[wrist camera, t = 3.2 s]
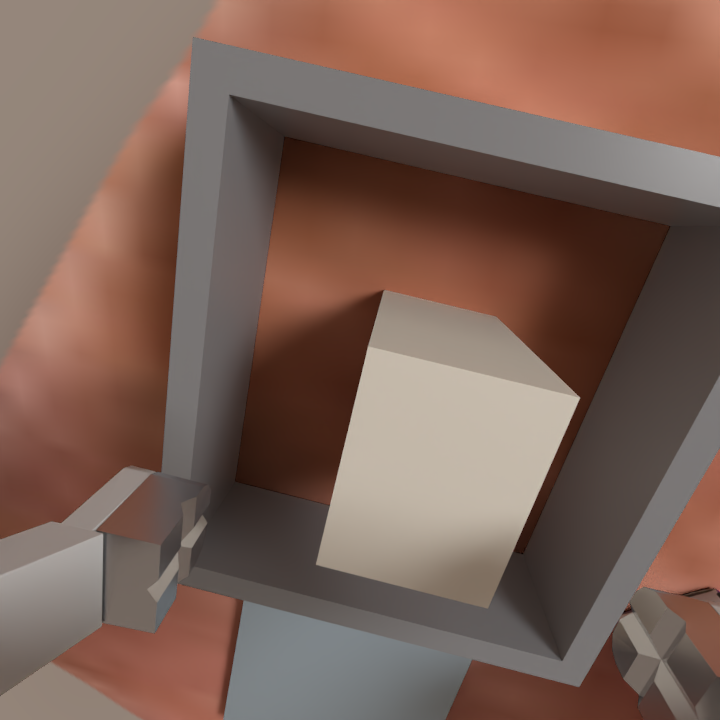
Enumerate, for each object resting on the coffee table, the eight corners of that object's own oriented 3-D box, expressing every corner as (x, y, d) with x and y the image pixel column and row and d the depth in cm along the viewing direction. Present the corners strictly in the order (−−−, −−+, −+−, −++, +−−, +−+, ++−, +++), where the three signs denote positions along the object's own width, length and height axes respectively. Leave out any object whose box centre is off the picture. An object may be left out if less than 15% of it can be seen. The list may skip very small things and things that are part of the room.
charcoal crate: (712, 202, 14) (870, 190, 9) (536, 575, 20) (578, 687, 15) (261, 99, 14) (192, 36, 10) (212, 493, 20) (154, 577, 15)
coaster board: (495, 590, 20) (498, 601, 20) (419, 763, 25) (420, 776, 24) (258, 530, 20) (254, 539, 20) (226, 712, 25) (222, 723, 24)
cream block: (496, 316, 16) (580, 397, 8) (451, 447, 18) (487, 608, 10) (383, 289, 16) (368, 346, 9) (351, 422, 18) (315, 564, 11)
